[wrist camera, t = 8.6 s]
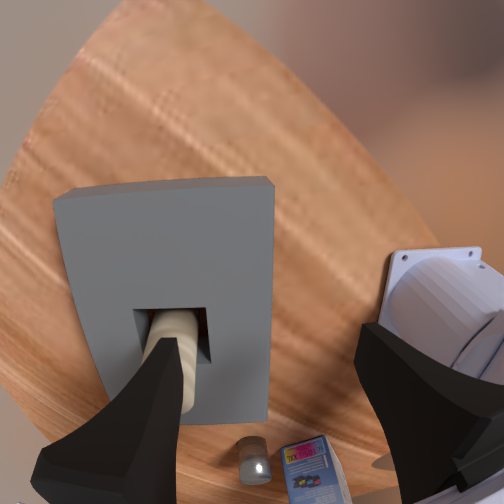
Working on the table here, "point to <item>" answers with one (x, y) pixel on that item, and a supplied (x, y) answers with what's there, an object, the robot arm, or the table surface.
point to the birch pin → (186, 331)
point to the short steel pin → (253, 461)
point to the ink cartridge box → (314, 473)
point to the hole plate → (177, 281)
